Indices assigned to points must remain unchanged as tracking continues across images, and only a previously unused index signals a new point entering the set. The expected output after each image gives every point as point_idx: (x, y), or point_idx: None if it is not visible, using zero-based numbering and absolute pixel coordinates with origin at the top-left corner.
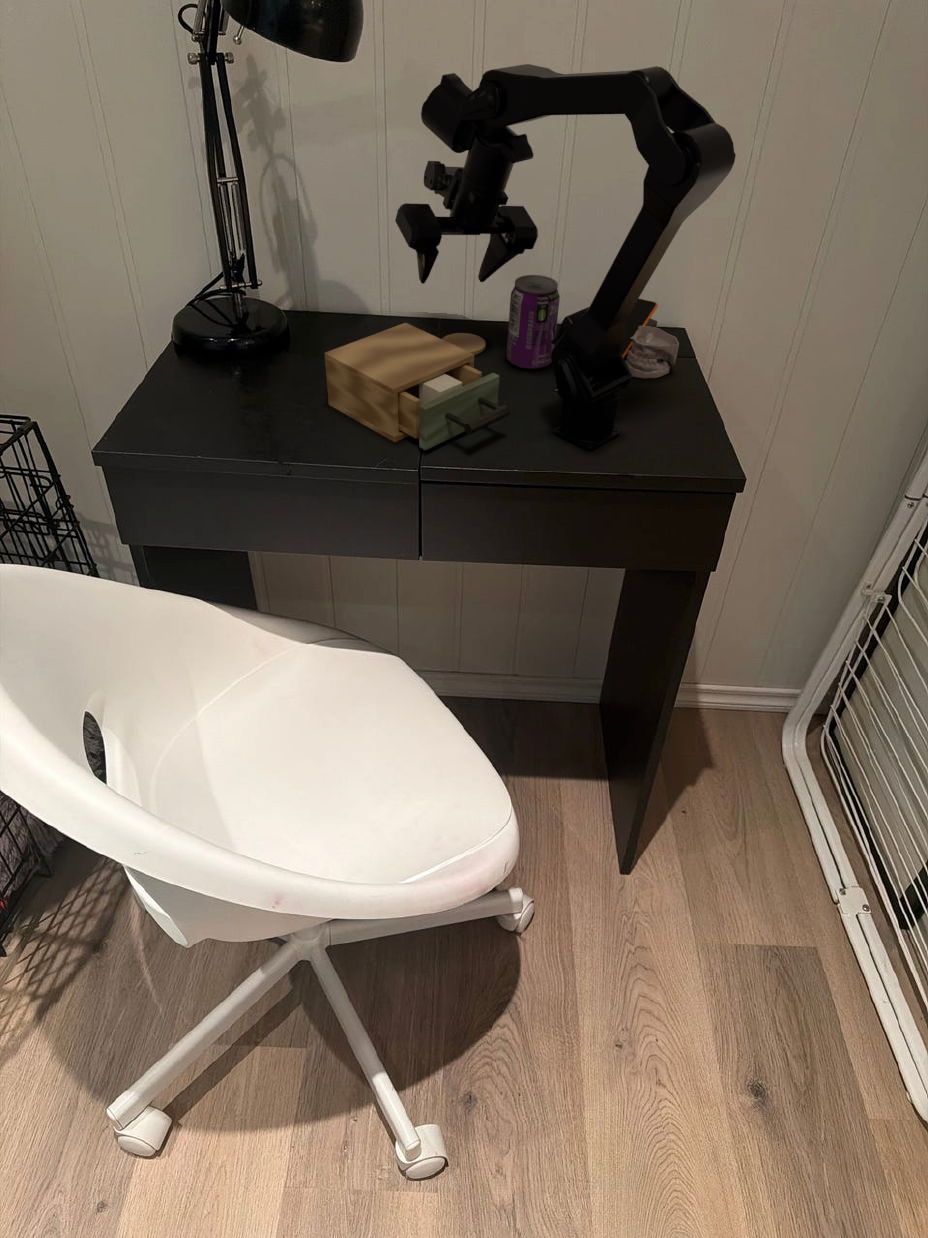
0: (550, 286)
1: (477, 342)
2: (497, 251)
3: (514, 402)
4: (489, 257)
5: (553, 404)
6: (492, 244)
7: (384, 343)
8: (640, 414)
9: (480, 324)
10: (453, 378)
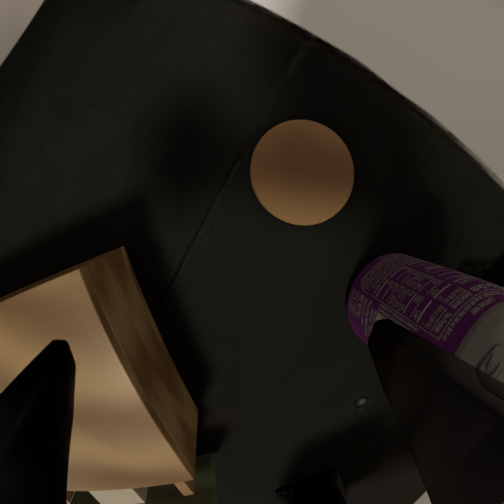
0: (502, 380)
1: (334, 186)
2: (454, 482)
3: (274, 420)
4: (439, 420)
5: (327, 436)
6: (487, 446)
7: (11, 361)
8: (401, 465)
9: (382, 97)
10: (133, 491)
